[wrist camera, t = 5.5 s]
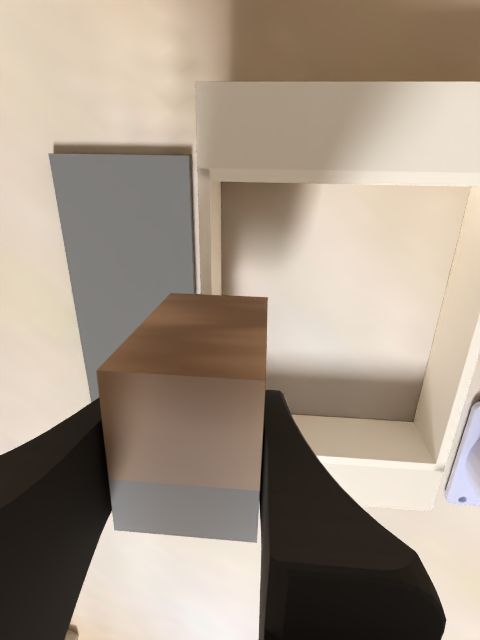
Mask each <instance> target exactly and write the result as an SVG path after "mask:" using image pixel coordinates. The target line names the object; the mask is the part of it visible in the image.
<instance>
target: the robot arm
mask: <svg viewBox="0 0 480 640" xmlns="http://www.w3.org/2000/svg"><path fill="white" fill-rule="evenodd" d="M445 498H446V500H447V502H449V503H451V504H460V505H473V506H480V401H479V402H477V403H475V404H474V405H473V406H472V409H471V412H470V415H469V418H468V421H467V424H466V428H465V431H464V434H463V437H462V440H461V443H460V447H459V450H458V453H457V456H456V459H455V463H454V466H453V469H452V472H451V475H450V478H449V482H448V485H447V488H446V491H445ZM259 502H260V520H261V548H262V550H261V583H260V615H259V640H441V638H442V635H443V633H444V629H445V623H446V618H445V614H444V611H443V607H442V605H441V602H440V599H439V597H438V594H437V592H436V589H435V587H434V585H433V583H432V581H431V579H430V577H429V575H428V573H427V571H426V569H425V568H424V566H423V564H422V562H421V560H420V558H419V556H418V554H417V553H416V552H415V551H414V550H413V549H411V548H410V547H409V546H407V545H406V544H405V543H404V542H402V541H401V540H400V539H398V538H397V537H396V536H395V535H393V534H392V533H391V532H389V531H388V530H387V529H385V528H384V527H383V526H382V525H381V524H379V523H378V522H377V521H376V520H375V519H374V518H373V517H371V516H370V515H369V514H368V513H367V512H366V511H365V510H363V509H362V508H361V507H360V505H359V504H358V503H357V502H356V501H355V500H354V499H353V498H352V497H351V496H350V495H349V494H348V493H347V492H346V491H345V490H344V489H343V488H342V487H341V486H340V485H339V484H338V483H337V481H336V480H335V479H334V478H333V477H332V476H331V474H330V473H329V472H328V471H327V469H326V468H325V467H324V466H323V464H322V463H321V462H320V460H319V459H318V458H317V456H316V455H315V453H314V452H313V451H312V449H311V448H310V446H309V445H308V443H307V441H306V440H305V438H304V437H303V435H302V433H301V431H300V430H299V428H298V426H297V424H296V423H295V421H294V419H293V417H292V415H291V413H290V411H289V409H288V406H287V404H286V401H285V399H284V395H283V393H282V392H281V391H276V390H265V404H264V422H263V440H262V458H261V476H260V494H259ZM111 511H112V504H111V495H110V487H109V478H108V469H107V460H106V452H105V443H104V434H103V426H102V417H101V408H100V399H99V398H97V399H96V400H94V401H93V402H91V403H90V404H89V405H87V406H86V407H84V408H83V409H81V410H80V411H78V412H77V413H75V414H74V415H72V416H71V417H69V418H67V419H66V420H64V421H63V422H61V423H59V424H58V425H56V426H55V427H53V428H51V429H50V430H48V431H47V432H45V433H43V434H41V435H40V436H38V437H36V438H34V439H32V440H30V441H29V442H27V443H25V444H23V445H21V446H19V447H17V448H15V449H13V450H11V451H9V452H7V453H5V454H2V455H0V640H65V637H66V634H67V631H68V627H69V624H70V621H71V618H72V615H73V612H74V609H75V606H76V603H77V600H78V597H79V594H80V591H81V588H82V585H83V582H84V580H85V577H86V574H87V571H88V568H89V565H90V562H91V560H92V557H93V554H94V552H95V549H96V546H97V543H98V541H99V538H100V535H101V533H102V531H103V528H104V526H105V524H106V521H107V519H108V517H109V515H110V513H111Z"/></svg>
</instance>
